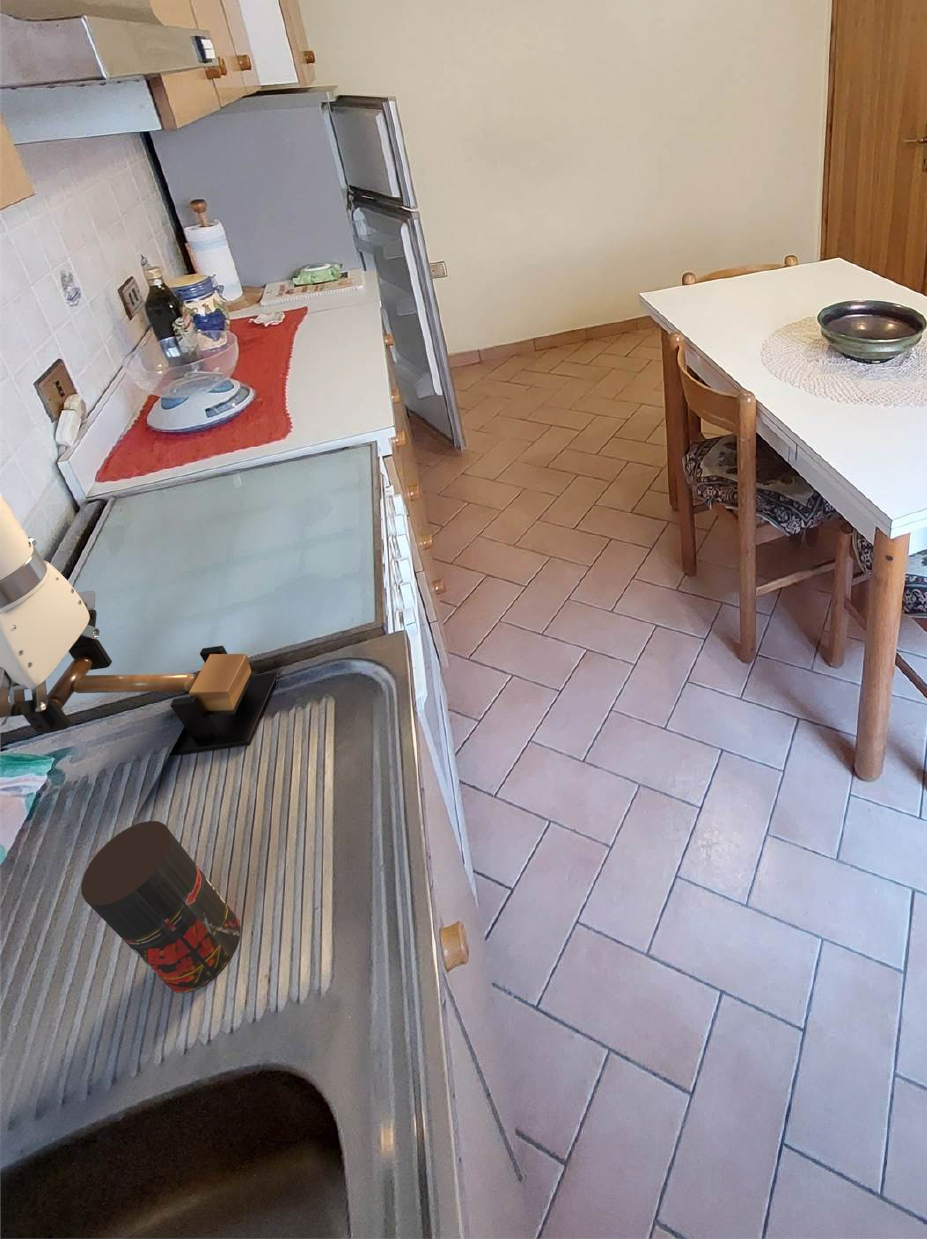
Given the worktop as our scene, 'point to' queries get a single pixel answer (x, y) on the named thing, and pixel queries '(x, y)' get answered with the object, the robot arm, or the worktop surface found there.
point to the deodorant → (162, 906)
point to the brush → (165, 682)
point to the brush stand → (222, 716)
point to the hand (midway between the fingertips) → (76, 695)
